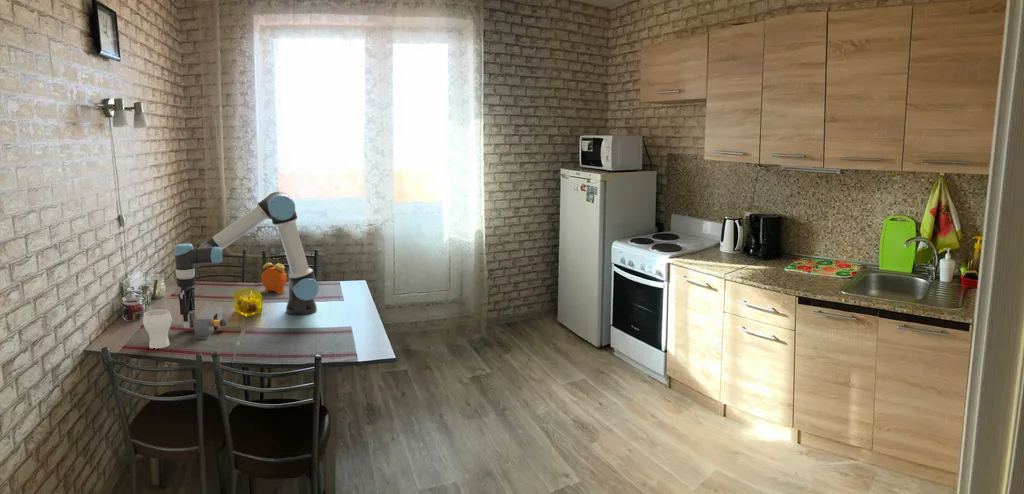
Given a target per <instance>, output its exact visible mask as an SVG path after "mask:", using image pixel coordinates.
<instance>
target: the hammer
mask: <svg viewBox="0 0 1024 494" xmlns="http://www.w3.org/2000/svg"><path fill="white" fill-rule="evenodd" d="M189 314H190V328H189V329H194V319H195V318H196V310H193V311H189ZM182 318H183V315H182ZM227 323H228V321H227V319H226V318H222V319H221V320H214V326H220V327H227ZM182 328H183V329H185V328H184V327H183V326H182Z"/></svg>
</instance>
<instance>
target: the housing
mask: <svg viewBox="0 0 1024 494" xmlns="http://www.w3.org/2000/svg"><path fill="white" fill-rule="evenodd" d="M221 319H223V307H222V306H208V307H207V308H205V309H204V310H203V311H202V312H201V313H199V314H198V315H197V316H195V319H194V327H193V329H194V335H193V336H192V337H191V339H192V340H209V339H210V338H211V336H212V335H213V334H214V333H215V329H220V327H221V326H214V320H221Z"/></svg>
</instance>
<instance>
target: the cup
mask: <svg viewBox="0 0 1024 494" xmlns="http://www.w3.org/2000/svg"><path fill="white" fill-rule="evenodd" d="M172 317H173V316H172V315H171V311H170V310H168V309H163V308H162V309H161V308H159V309H151V310H148V311H145V312H144V314H143V318H142V322H143V323H142V324H143V328H144V329H145V330H146V332H147V333H148V336H149V343H148V345H149V346H148V347H149V349H153V348H155V349H154V350H157V349H158V348H159V349H165V348H168V346H170V339H169V330H170V329H171V325H172ZM159 349H158V350H159Z"/></svg>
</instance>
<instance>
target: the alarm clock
mask: <svg viewBox="0 0 1024 494" xmlns="http://www.w3.org/2000/svg"><path fill="white" fill-rule="evenodd" d="M274 259H277V263H276V264H273V263H272V262H269V261H270V258H268V262H265V264H263V266H262V270H263V271H262V273H261V276H260V278H261V279H260V281H261V283H262V285H263V287H264V288H265V289H264V293H269V292H272V291H273V292H275V293H276V294H279V295H280V294H282V293H285V292H286V290H285V286H286V284H287V282H288V275H287V272H286V271H285V269H286V268H285V265H284V264H282V263H279V262H280V261H279V260H278V258H277V257H276V258H274ZM271 266H272V267H271Z"/></svg>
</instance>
